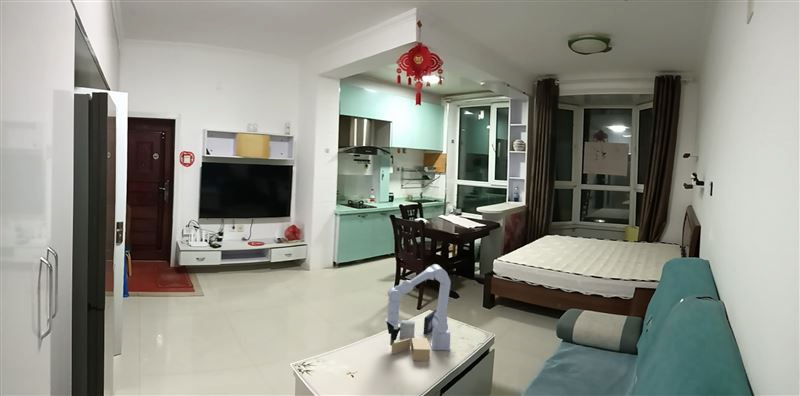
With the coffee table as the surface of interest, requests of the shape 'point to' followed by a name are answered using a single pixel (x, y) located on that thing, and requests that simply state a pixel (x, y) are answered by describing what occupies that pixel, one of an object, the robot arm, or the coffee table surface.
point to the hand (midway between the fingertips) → (392, 336)
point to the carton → (420, 349)
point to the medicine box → (407, 329)
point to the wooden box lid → (400, 345)
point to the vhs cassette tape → (429, 323)
